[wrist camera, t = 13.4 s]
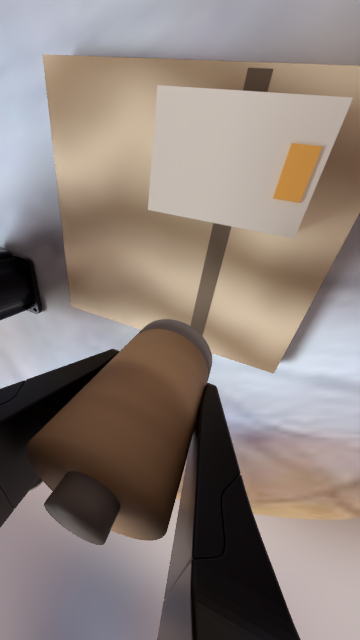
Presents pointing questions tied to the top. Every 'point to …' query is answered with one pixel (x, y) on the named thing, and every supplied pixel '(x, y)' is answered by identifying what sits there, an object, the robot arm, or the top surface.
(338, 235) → the plank
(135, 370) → the brown knobbed cylinder
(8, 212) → the top surface
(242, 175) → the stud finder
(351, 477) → the top surface
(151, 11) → the top surface
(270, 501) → the top surface
